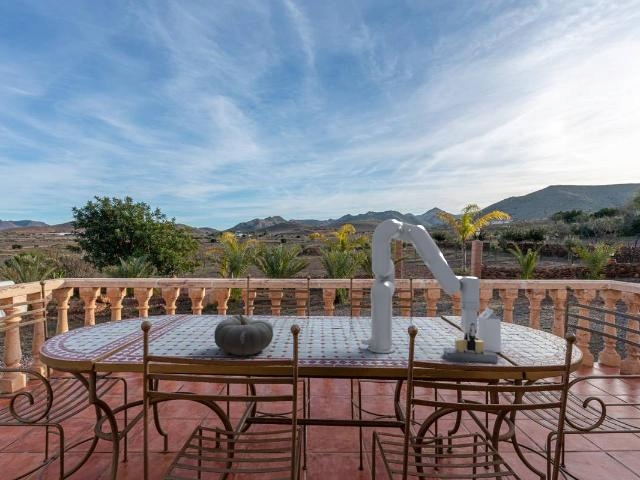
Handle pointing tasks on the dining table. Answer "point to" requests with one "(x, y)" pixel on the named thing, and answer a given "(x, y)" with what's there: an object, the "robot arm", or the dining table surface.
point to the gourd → (243, 335)
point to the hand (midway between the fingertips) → (469, 348)
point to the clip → (462, 345)
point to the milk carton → (489, 330)
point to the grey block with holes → (470, 355)
